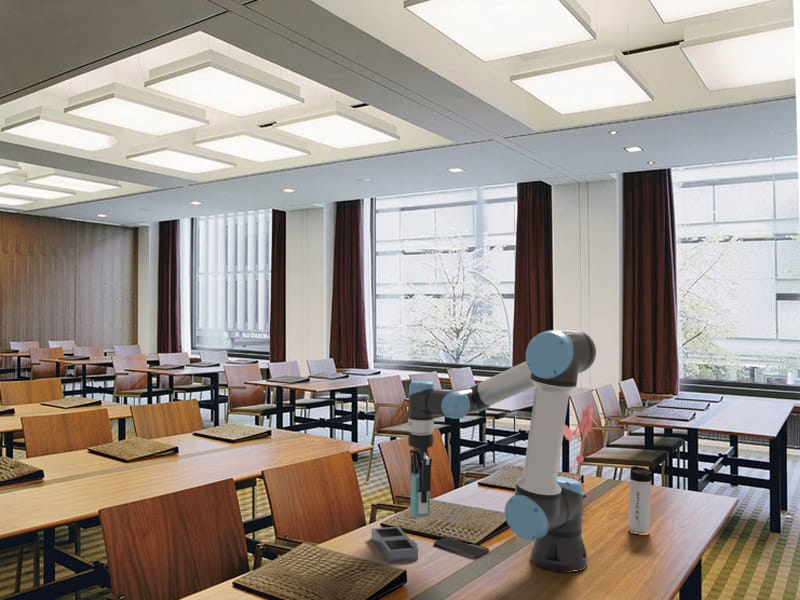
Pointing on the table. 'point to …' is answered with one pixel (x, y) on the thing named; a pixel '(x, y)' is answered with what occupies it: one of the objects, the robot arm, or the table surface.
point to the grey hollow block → (394, 544)
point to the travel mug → (639, 500)
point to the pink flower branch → (584, 426)
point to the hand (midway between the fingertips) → (419, 510)
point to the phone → (461, 547)
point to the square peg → (415, 496)
